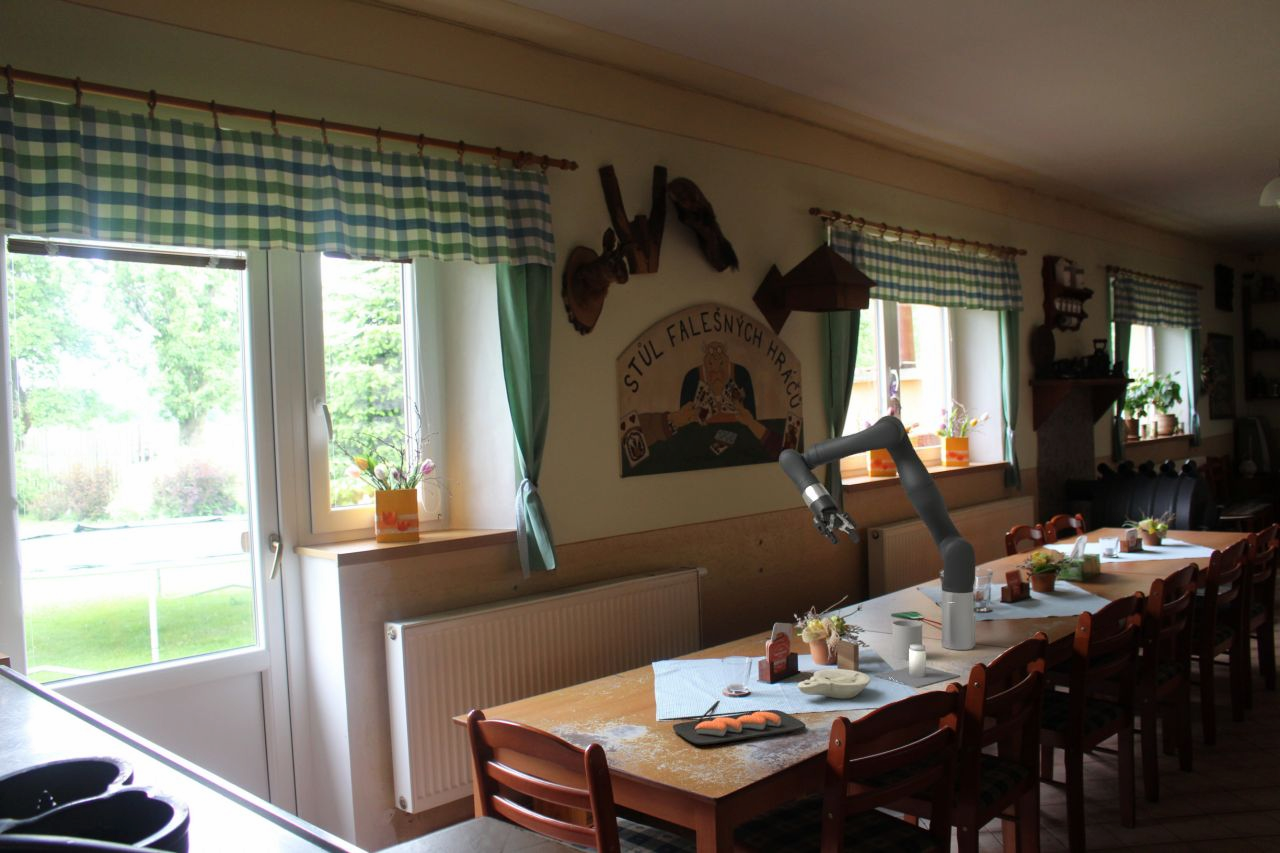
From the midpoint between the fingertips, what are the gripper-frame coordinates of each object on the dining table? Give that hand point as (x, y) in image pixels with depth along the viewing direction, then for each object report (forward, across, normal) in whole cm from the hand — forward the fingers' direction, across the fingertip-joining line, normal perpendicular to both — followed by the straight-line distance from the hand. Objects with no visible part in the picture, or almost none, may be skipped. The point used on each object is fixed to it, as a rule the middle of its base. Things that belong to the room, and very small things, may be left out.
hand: (847, 542), depth 297 cm
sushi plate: (+44, -73, +4) cm, 85 cm away
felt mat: (+45, -6, +1) cm, 45 cm away
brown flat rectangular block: (+34, -17, +12) cm, 40 cm away
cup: (+34, +8, +12) cm, 37 cm away
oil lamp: (+44, -38, +2) cm, 58 cm away
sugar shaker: (+44, -6, +1) cm, 45 cm away
